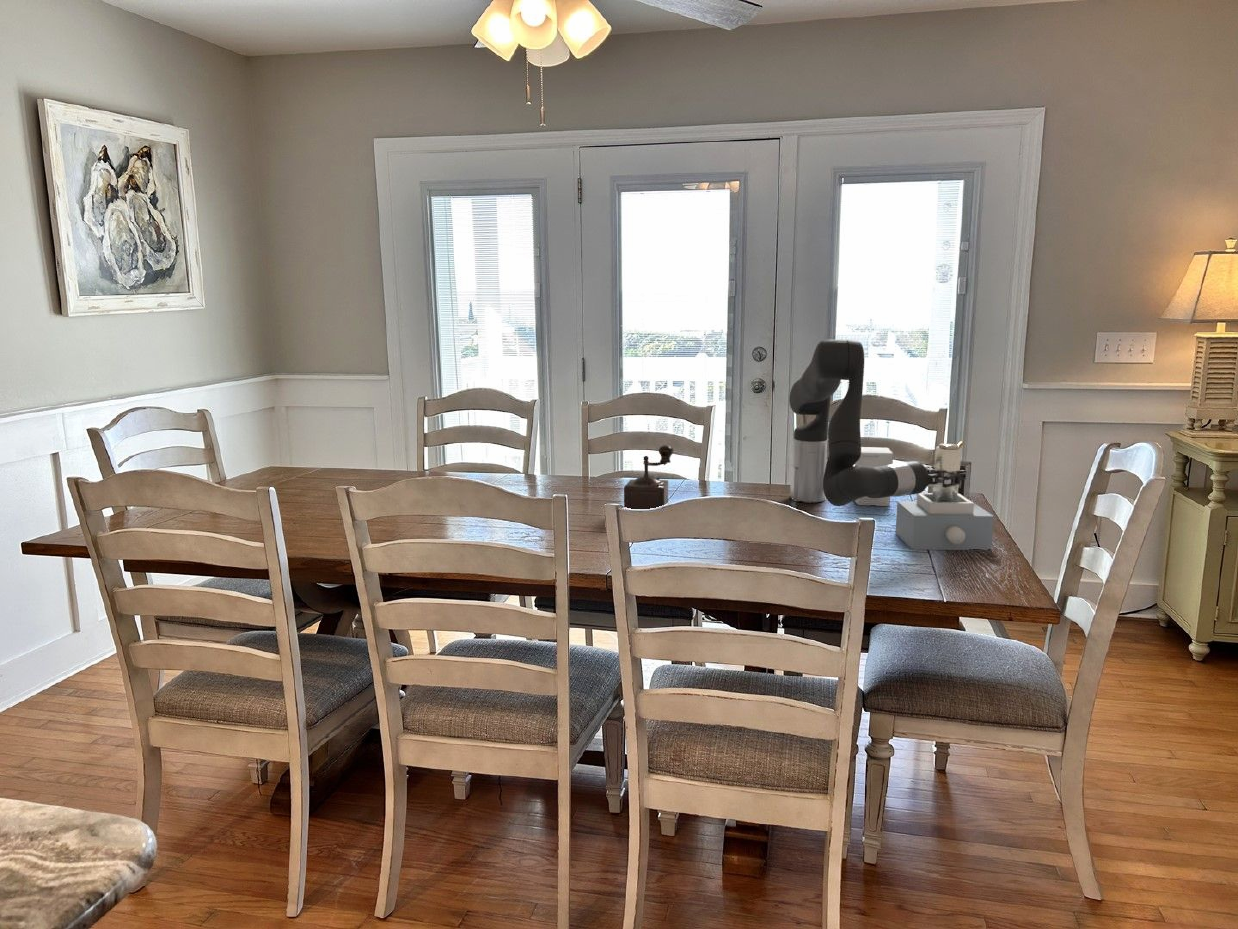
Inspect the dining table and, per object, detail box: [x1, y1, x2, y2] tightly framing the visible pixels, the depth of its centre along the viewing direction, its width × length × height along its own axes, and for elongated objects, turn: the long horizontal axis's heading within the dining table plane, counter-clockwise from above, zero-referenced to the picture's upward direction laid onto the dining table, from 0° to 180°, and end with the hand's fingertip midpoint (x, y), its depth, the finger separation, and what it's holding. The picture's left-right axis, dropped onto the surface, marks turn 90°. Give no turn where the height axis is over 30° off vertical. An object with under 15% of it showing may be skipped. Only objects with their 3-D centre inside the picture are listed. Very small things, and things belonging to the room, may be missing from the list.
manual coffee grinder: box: [623, 445, 674, 509], centre depth 238 cm, size 16×11×18 cm
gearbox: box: [894, 492, 995, 551], centre depth 215 cm, size 18×17×10 cm
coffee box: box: [927, 459, 972, 500], centre depth 231 cm, size 9×6×16 cm
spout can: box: [932, 441, 964, 502], centre depth 214 cm, size 7×6×14 cm
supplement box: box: [854, 446, 894, 507], centre depth 254 cm, size 9×9×15 cm
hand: (954, 472), depth 215 cm, fingers closed on spout can, 5 cm apart
